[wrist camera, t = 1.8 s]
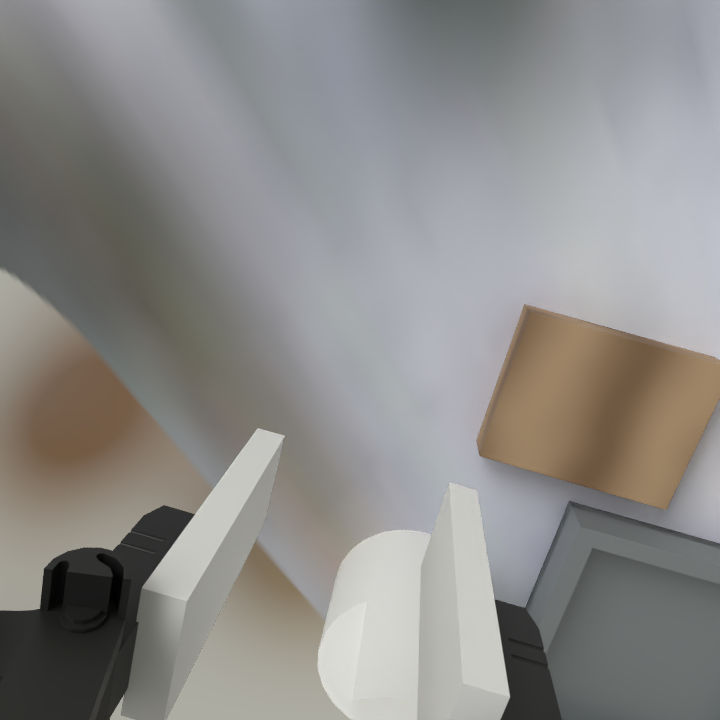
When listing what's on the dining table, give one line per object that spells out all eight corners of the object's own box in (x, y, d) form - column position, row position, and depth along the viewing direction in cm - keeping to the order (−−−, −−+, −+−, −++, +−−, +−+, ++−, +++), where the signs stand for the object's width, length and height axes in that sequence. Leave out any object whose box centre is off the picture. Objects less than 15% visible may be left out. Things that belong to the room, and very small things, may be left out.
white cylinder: (327, 530, 35) (279, 694, 24) (478, 528, 34) (503, 698, 23) (342, 653, 38) (304, 854, 26) (483, 655, 36) (508, 867, 25)
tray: (487, 700, 37) (491, 736, 35) (569, 501, 33) (580, 526, 30) (717, 768, 37) (738, 810, 34) (833, 575, 32) (866, 607, 30)
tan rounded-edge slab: (475, 436, 33) (479, 455, 31) (523, 302, 31) (530, 311, 28) (648, 486, 33) (666, 510, 30) (710, 354, 30) (733, 368, 28)
